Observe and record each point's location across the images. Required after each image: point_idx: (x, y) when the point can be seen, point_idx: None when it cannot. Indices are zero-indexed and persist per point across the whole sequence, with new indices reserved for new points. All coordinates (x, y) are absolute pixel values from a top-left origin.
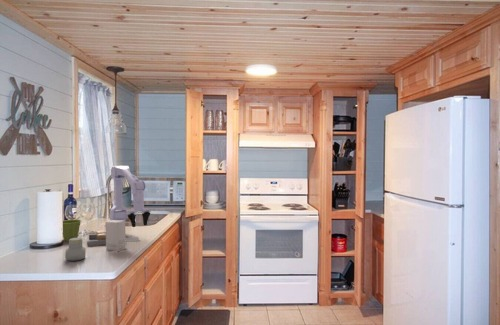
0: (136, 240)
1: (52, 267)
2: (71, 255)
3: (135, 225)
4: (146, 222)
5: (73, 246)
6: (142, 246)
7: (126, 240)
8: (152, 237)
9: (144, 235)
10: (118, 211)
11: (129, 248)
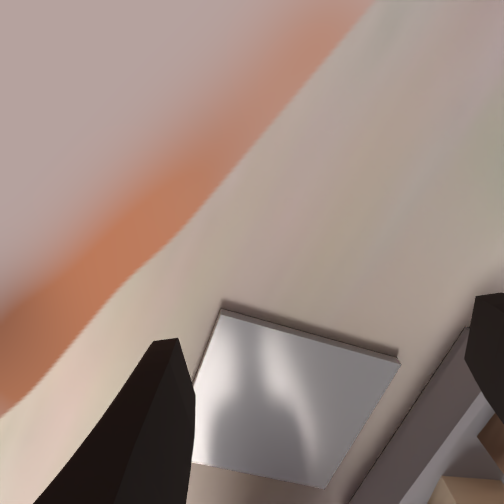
0: (248, 341)
1: None
2: None
3: (498, 308)
4: (149, 382)
5: None
6: (309, 87)
7: (322, 391)
8: (36, 393)
9: None
10: None
11: (470, 99)
